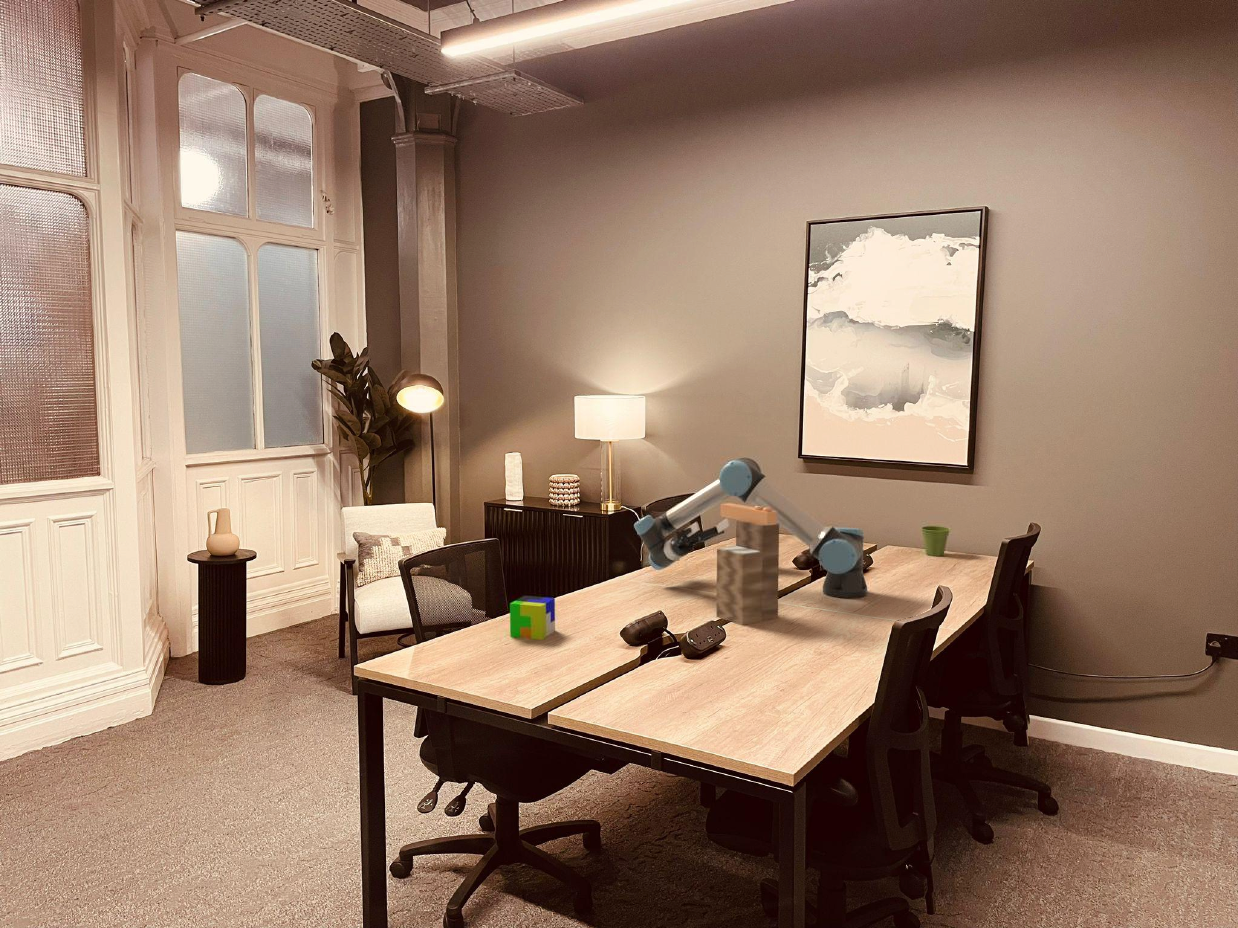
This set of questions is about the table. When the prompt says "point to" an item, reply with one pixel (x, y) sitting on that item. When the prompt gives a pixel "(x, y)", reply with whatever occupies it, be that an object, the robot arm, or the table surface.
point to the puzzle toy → (532, 617)
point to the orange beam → (749, 513)
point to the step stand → (749, 574)
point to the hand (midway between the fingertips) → (713, 523)
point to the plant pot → (935, 539)
